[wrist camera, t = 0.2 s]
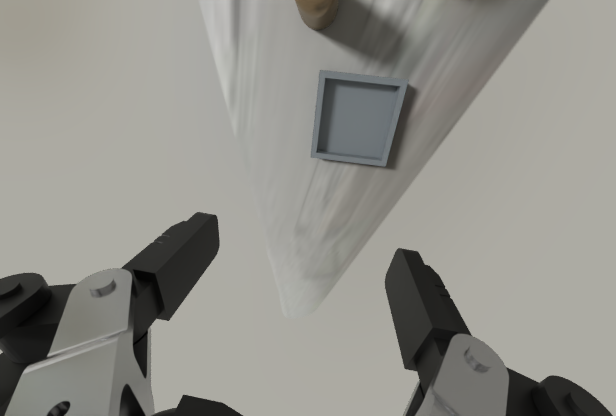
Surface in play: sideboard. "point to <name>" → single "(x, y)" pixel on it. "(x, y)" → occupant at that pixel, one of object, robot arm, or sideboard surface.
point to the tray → (356, 117)
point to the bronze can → (317, 12)
